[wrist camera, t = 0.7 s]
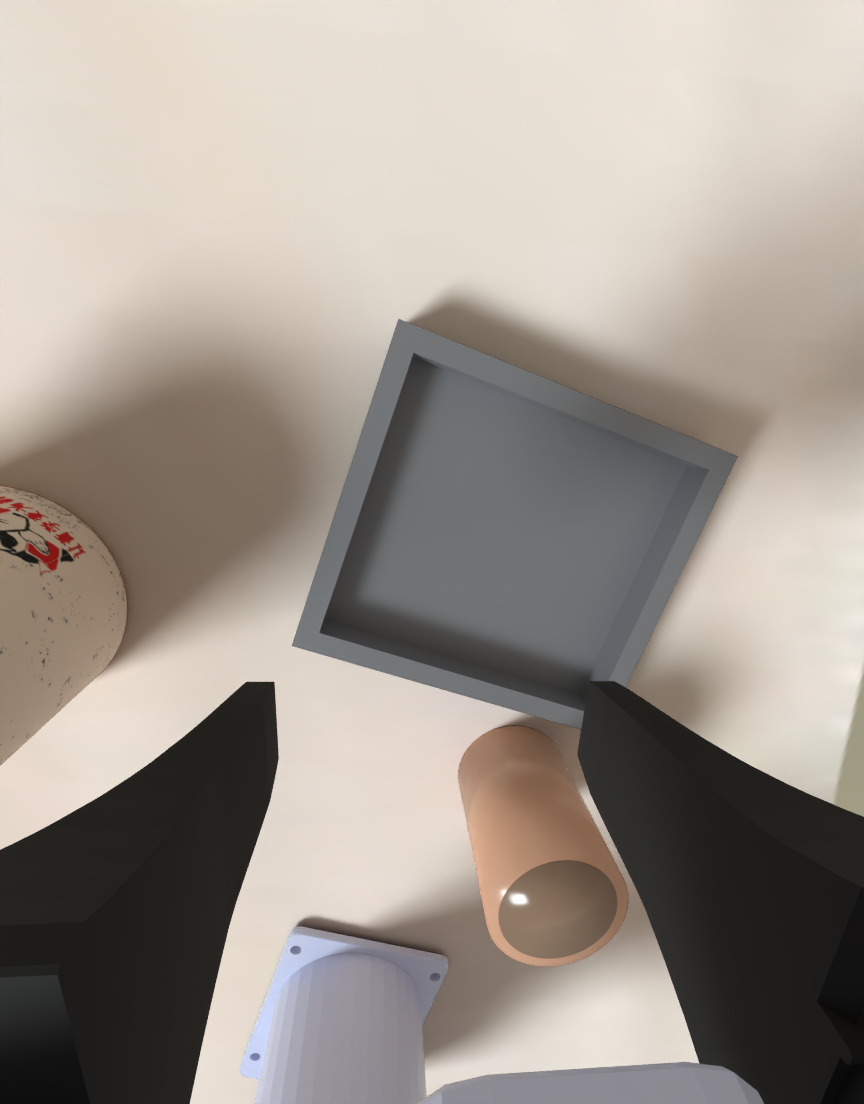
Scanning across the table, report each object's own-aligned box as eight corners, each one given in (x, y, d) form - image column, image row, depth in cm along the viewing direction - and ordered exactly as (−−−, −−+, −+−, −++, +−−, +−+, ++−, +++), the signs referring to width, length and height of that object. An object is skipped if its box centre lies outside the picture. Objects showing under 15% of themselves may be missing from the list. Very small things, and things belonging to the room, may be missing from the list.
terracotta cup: (537, 826, 25) (593, 979, 19) (442, 802, 25) (465, 952, 18) (578, 741, 24) (653, 869, 18) (480, 713, 24) (519, 836, 17)
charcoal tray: (584, 709, 24) (602, 735, 22) (300, 624, 22) (291, 645, 20) (706, 452, 21) (737, 456, 19) (397, 327, 19) (398, 318, 17)
